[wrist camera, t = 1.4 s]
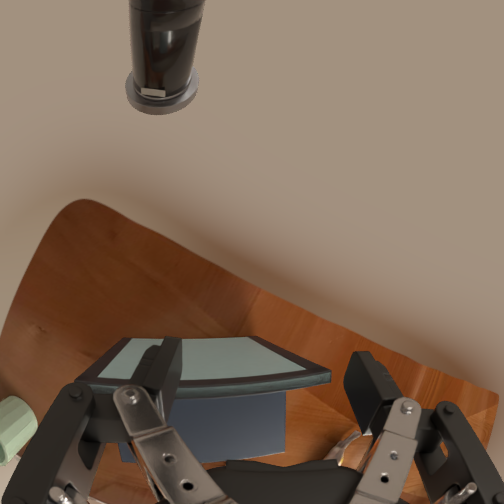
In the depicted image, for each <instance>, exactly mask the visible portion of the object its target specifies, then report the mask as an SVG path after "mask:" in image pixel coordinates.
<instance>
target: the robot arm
mask: <svg viewBox="0 0 504 504" xmlns="http://www.w3.org/2000/svg"><path fill="white" fill-rule="evenodd" d="M205 1H206V0H129V26H130V45H131V59H132V72H133V87H134V90H135V92H136V93H137V94H138V95H139V96H141V97H142V98H144V99H147V100H151V101H166V100H170V99H173V98H176V97H178V96H180V95H181V94H183V93H184V92H185V91H186V90H187V89H188V87H189V86H190V83H191V77H192V76H191V73H192V67H193V62H194V55H195V50H196V44H197V39H198V33H199V29H200V24H201V19H202V15H203V10H204V5H205ZM182 366H183V362H182V338H176V337H170V336H165V338H164V340H163V342H162V344H161V346H159V345H154V344H153V345H152V346H150V347H149V348H148V349H146V350H145V352H144V354H143V356H142V358H141V359H140V361H139V364H138V365H137V367H136V369H135V371H134V373H133V374H132V376H131V378H130V380H129V382H128V384H127V385H123V386H120V387H119V388H117V389H116V390H115V391H114V393H112V394H94V393H93V392H92V389H91V388H90V387H89V386H88V385H86V384H84V383H80V382H74V383H70V384H67V385H66V386H64V387H63V388H62V389H61V391H60V392H59V394H58V396H57V397H56V399H55V400H54V402H53V404H52V405H51V407H50V408H49V410H48V412H47V413H46V415H45V417H44V418H43V420H42V422H41V423H40V425H39V427H38V429H37V430H36V432H35V434H34V435H33V437H32V439H31V441H30V443H29V444H28V446H27V448H26V450H25V452H24V454H23V455H22V457H21V459H20V461H19V463H18V465H17V467H16V469H15V471H14V473H13V475H12V477H11V479H10V481H9V483H8V485H7V487H6V490H5V492H4V494H3V496H2V504H90V503H89V502H88V501H87V499H88V496H89V492H90V489H91V486H92V483H93V480H94V477H95V474H96V471H97V468H98V465H99V462H100V459H101V457H102V454H103V451H104V448H105V445H106V443H127V445H128V447H129V449H130V451H131V453H132V455H133V457H134V459H135V461H136V463H137V465H138V467H139V468H140V470H141V472H142V474H143V476H144V478H145V480H146V482H147V484H148V486H149V488H150V489H151V491H152V493H153V495H154V496H155V498H156V499H157V501H158V502H157V503H156V504H409V503H407V502H406V501H404V500H402V499H401V498H399V497H400V495H401V492H402V490H403V487H404V484H405V481H406V479H407V476H408V473H409V470H410V467H411V464H412V460H413V458H414V461H415V463H416V466H417V468H418V471H419V474H420V476H421V479H422V481H423V484H424V487H425V489H426V492H427V495H428V497H429V500H430V503H431V504H504V482H503V481H502V479H501V477H500V475H499V473H498V471H497V469H496V468H495V466H494V464H493V462H492V461H491V459H490V457H489V455H488V454H487V452H486V450H485V449H484V447H483V445H482V444H481V442H480V440H479V439H478V437H477V435H476V434H475V432H474V431H473V429H472V427H471V426H470V424H469V423H468V421H467V420H466V418H465V416H464V415H463V413H462V412H461V410H460V409H459V407H458V406H457V405H455V404H454V403H452V402H448V401H442V402H440V403H438V404H437V406H436V408H435V409H434V410H432V409H421V407H420V405H419V404H418V403H417V402H416V401H415V400H413V399H411V398H407V397H404V396H403V395H402V393H401V391H400V390H399V388H398V386H397V385H396V383H395V382H394V380H393V378H392V377H391V375H389V372H388V370H387V369H386V367H385V366H384V365H382V364H381V363H380V362H379V361H375V359H374V358H373V356H372V355H371V353H370V352H369V351H355V352H353V354H352V356H351V359H350V362H349V364H348V367H347V370H346V373H345V376H344V382H343V383H344V389H345V391H346V394H347V396H348V399H349V401H350V404H351V406H352V409H353V411H354V414H355V417H356V419H357V422H358V424H359V427H360V429H361V432H362V435H363V436H365V435H373V439H372V440H371V442H370V444H369V446H368V448H367V450H366V452H365V454H364V456H363V458H362V460H361V462H360V464H359V466H358V467H357V469H356V470H354V469H352V468H348V467H344V466H338V462H337V459H327V460H313V461H308V462H304V463H300V464H296V465H292V466H288V467H280V466H275V465H270V464H266V463H261V462H257V461H245V460H231V459H226V466H222V467H216V468H212V469H209V470H205V469H204V468H203V466H202V465H201V464H200V463H199V461H198V460H197V459H196V457H195V456H194V455H193V453H192V452H191V451H190V449H189V448H188V446H187V445H186V444H185V442H184V441H183V439H182V438H181V437H180V435H179V434H178V432H177V431H176V429H175V428H174V427H173V426H168V425H167V422H168V418H169V415H170V411H171V408H172V405H173V402H174V398H175V395H176V392H177V388H178V385H179V382H180V379H181V375H182ZM442 442H444V444H445V446H446V448H447V450H448V458H447V460H446V458H445V456H444V453H443V451H442V449H441V447H440V444H441V443H442Z"/></svg>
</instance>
